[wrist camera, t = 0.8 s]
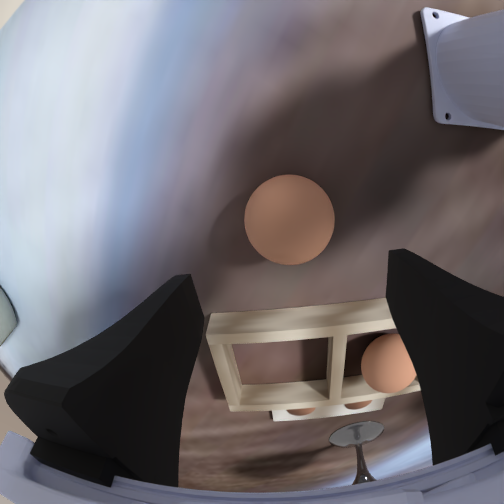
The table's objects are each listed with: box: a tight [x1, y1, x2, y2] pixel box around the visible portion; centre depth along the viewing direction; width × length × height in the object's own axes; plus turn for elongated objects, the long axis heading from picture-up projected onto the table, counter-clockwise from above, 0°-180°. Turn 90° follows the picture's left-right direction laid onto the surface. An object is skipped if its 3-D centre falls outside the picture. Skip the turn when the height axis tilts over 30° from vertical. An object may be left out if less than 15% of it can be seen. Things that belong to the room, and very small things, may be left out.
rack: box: [206, 298, 421, 421], centre depth 25 cm, size 19×16×2 cm
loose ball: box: [244, 175, 335, 265], centre depth 17 cm, size 5×5×5 cm
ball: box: [361, 334, 416, 393], centre depth 22 cm, size 5×5×5 cm
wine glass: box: [329, 421, 384, 485], centre depth 25 cm, size 8×8×15 cm
